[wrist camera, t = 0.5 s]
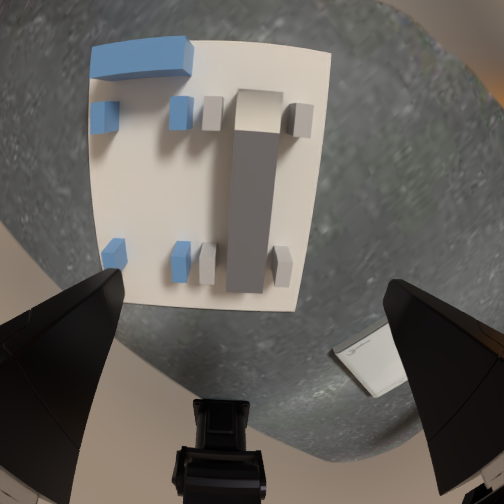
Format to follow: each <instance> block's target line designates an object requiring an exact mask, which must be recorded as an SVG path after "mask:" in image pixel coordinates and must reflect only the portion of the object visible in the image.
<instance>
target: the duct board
mask: <svg viewBox="0 0 504 504" xmlns="http://www.w3.org/2000/svg"><path fill="white" fill-rule="evenodd" d="M330 64H331V53H326V52H321V51H315V50H310V49H304V48H298V47H291V46H283V45H275V44H265V43H254V42H239V41H190V40H189V39H188V38H187V36H170V37H157V38H147V39H138V40H130V41H123V42H117V43H111V44H105V45H100V46H95V47H92V54H91V64H90V76H89V78H90V86H89V113H88V138H89V166H90V181H91V193H92V203H93V212H94V221H95V228H96V235H97V242H98V248H99V254H100V260H101V266H102V271H103V270H105V269H107V268H119V269H120V270H121V272H122V277H123V283H124V288H125V297H124V301H123V302H126V303H137V304H148V305H160V306H173V307H188V308H204V309H224V310H249V311H294V312H295V308H296V303H297V298H298V293H299V287H300V282H301V277H302V272H303V266H304V261H305V255H306V249H307V244H308V238H309V232H310V226H311V220H312V213H313V207H314V201H315V194H316V187H317V180H318V173H319V166H320V158H321V150H322V142H323V134H324V126H325V117H326V107H327V97H328V87H329V76H330ZM238 88H239V89H254V90H266V91H276V92H284V93H283V104H282V114H281V125H280V135H279V146H278V156H277V166H276V176H275V185H274V195H273V204H272V214H271V223H270V232H269V241H268V250H267V259H266V268H265V276H264V285H263V293H262V294H259V293H234V292H226V277H227V253H228V231H229V212H230V193H231V176H232V160H233V145H234V130H235V117H236V103H237V91H238Z"/></svg>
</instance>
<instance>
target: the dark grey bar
mask: <svg viewBox="0 0 504 504" xmlns="http://www.w3.org/2000/svg"><path fill="white" fill-rule="evenodd" d="M283 93H284V92H276V91H266V90H254V89H239V88H238V91H237V103H236V117H235V130H234V145H233V160H232V176H231V193H230V212H229V231H228V253H227V277H226V292H234V293H259V294H262V293H263V285H264V276H265V268H266V259H267V250H268V241H269V232H270V223H271V214H272V204H273V195H274V185H275V176H276V166H277V156H278V146H279V135H280V125H281V114H282V104H283Z"/></svg>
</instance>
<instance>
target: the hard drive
mask: <svg viewBox="0 0 504 504" xmlns="http://www.w3.org/2000/svg"><path fill="white" fill-rule="evenodd" d="M333 351H334V353H335V355H336V356H337V357H338V358H339V359H340V360H341V361H342V363H343V364H344V365H345V366H346V367H347V368H348V369H349V370H350V371H351V372H352V374H353V375H354V376H355V377H356V378H357V379H358V380H359V382H360V383H361V384H362V385H363V386H364V387H365V388H366V389H367V390H368V391H369V393H370V394H371V395H372V396H373V397H374V398H377V397H379V396H381V395H383V394H385V393H386V392H388V391H390V390H392V389H393V388H395V387H397V386H398V385H400V384H402V383H403V382H405V381H406V380H408V379H407V376H406V373H405V370H404V368H403V365H402V362H401V359H400V357H399V354H398V351H397V349H396V346H395V343H394V341H393V337H392V334H391V330H390V327H389V323H388V320H387V316H386V315H385V316H384V317H382V318H381V319H379V320H378V321H376V322H375V323H373V324H372V325H370V326H368V327H367V328H365V329H364V330H362V331H360V332H359V333H357V334H356V335H354V336H352V337H351V338H349V339H347V340H346V341H344V342H342V343H341V344H339V345H337V346H335V347H334V348H333Z"/></svg>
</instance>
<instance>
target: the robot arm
mask: <svg viewBox="0 0 504 504" xmlns="http://www.w3.org/2000/svg"><path fill="white" fill-rule="evenodd" d="M124 297H125V288H124V283H123V277H122V272H121V270H120V269H119V268H107V269H105V270H103V271H101V272H99V273H97V274H95V275H93V276H91V277H89V278H87V279H85V280H83V281H82V282H80V283H78V284H76V285H74V286H72V287H70V288H68V289H66V290H64V291H63V292H61V293H59V294H57V295H55V296H53V297H51V298H50V299H48V300H46V301H44V302H42V303H40V304H39V305H37V306H35V307H33V308H31V310H28V311H26V312H24V313H22V314H21V315H19V316H17V317H15V318H13V319H12V320H10V321H8V322H6V323H4V324H2V325H0V504H37V501H38V498H41V499H43V500H46V501H48V502H50V503H52V504H69V502H70V496H71V490H72V485H73V479H74V474H75V470H76V464H77V460H78V456H79V452H80V450H79V449H80V447H81V443H82V438H83V435H84V431H85V427H86V423H87V419H88V416H89V412H90V409H91V405H92V402H93V399H94V395H95V392H96V389H97V386H98V383H99V379H100V376H101V373H102V370H103V367H104V364H105V361H106V359H107V356H108V353H109V350H110V347H111V344H112V342H113V339H114V336H115V332H116V329H117V324H118V320H119V316H120V313H121V309H122V305H123V301H124ZM383 306H384V310H385V313H386V316H387V320H388V323H389V327H390V330H391V334H392V337H393V341H394V343H395V346H396V349H397V351H398V354H399V357H400V359H401V362H402V365H403V368H404V370H405V373H406V376H407V379H408V382H409V385H410V388H411V391H412V394H413V397H414V400H415V403H416V406H417V409H418V412H419V416H420V419H421V422H422V426H423V429H424V432H425V436H426V440H427V442H428V443H427V444H428V447H429V452H430V456H431V460H432V464H433V468H434V472H435V476H436V482H437V486H438V491H439V494H440V496H442V495H444V494H446V493H448V492H450V491H452V490H454V489H456V488H458V487H460V486H461V485H463V484H465V483H467V482H469V481H471V480H472V479H474V478H476V477H477V476H479V475H481V476H482V478H483V481H484V483H483V484H481V485H479V486H478V487H476V488H475V489H473V490H471V491H470V492H469V493H467V494H465V497H464V499H463V502H462V504H504V334H502V333H500V332H499V331H497V330H495V329H493V328H491V327H489V326H487V325H486V324H484V323H482V322H480V321H479V320H476V319H475V318H473V317H471V316H470V315H468V314H466V313H464V312H462V311H460V310H459V309H457V308H455V307H453V306H451V305H449V304H448V303H446V302H444V301H442V300H440V299H438V298H436V297H435V296H433V295H431V294H429V293H427V292H425V291H423V290H421V289H419V288H417V287H416V286H414V285H412V284H410V283H408V282H406V281H404V280H402V279H392V280H391V281H390V282H389V284H388V287H387V290H386V293H385V296H384V299H383ZM193 408H194V415H195V421H196V426H197V432H196V445H195V448H191V447H187V446H182V449H181V450H180V451H177V454H176V463H175V467H174V471H173V476H172V483H173V484H174V485H175V486H176V490H177V493H178V496H183V504H261V500H264V499H265V496H266V477H265V471H264V465H263V460H262V454H261V450H256V451H246V434H245V428H246V427H247V422H248V415H249V408H250V403H249V402H248V401H224V400H205V399H194V400H193Z"/></svg>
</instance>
